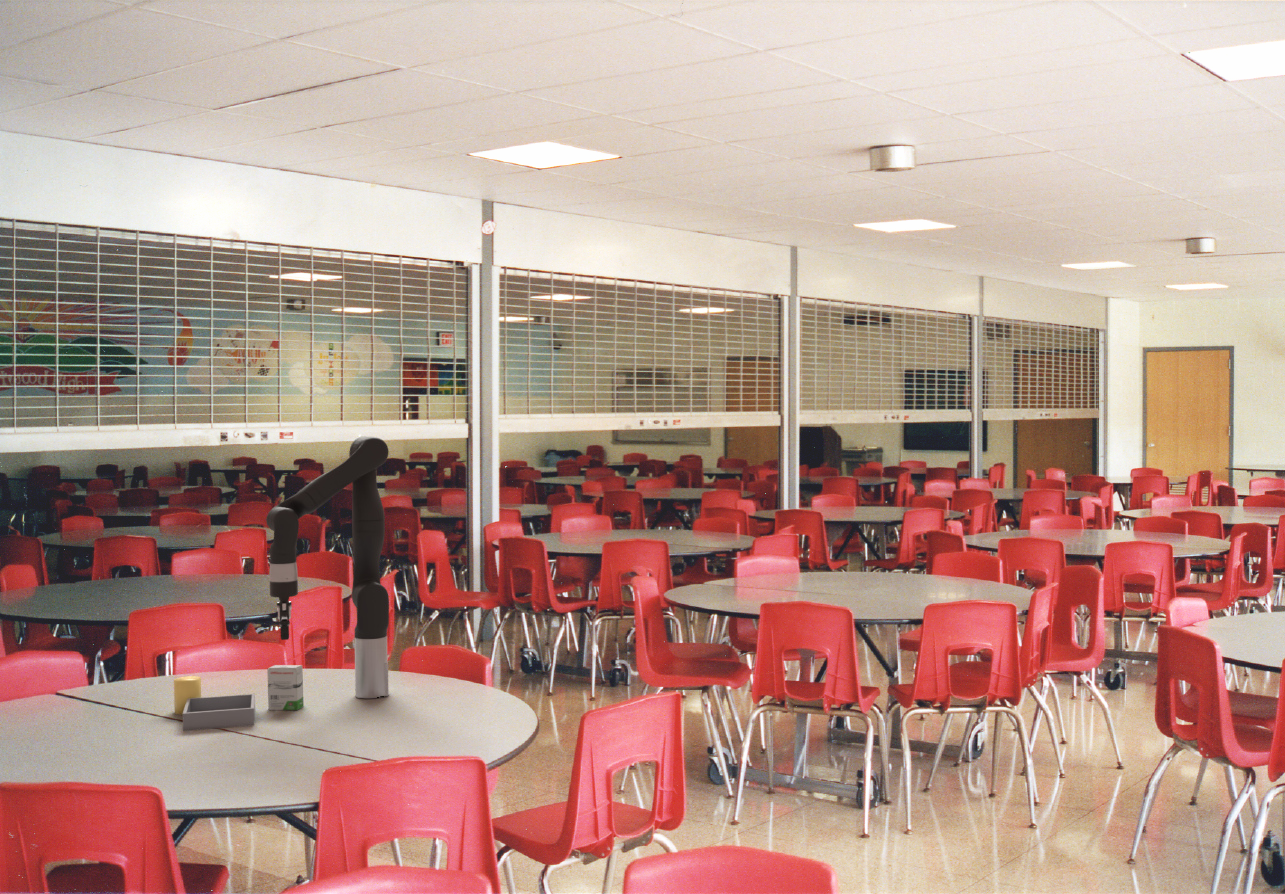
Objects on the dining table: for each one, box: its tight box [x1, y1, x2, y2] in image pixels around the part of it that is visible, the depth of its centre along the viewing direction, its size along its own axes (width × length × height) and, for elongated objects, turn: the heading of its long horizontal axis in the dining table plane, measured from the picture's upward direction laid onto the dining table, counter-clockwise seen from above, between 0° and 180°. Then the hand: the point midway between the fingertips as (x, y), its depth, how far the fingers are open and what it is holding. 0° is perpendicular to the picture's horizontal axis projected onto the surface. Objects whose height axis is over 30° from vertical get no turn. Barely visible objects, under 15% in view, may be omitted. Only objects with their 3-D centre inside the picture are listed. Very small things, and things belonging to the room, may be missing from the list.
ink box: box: [266, 664, 305, 711], centre depth 339 cm, size 9×5×12 cm, turn 84°
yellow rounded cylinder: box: [173, 675, 202, 715], centre depth 337 cm, size 7×7×9 cm
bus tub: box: [182, 693, 256, 732], centre depth 327 cm, size 18×18×4 cm
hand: (284, 636), depth 339 cm, fingers open, 8 cm apart
